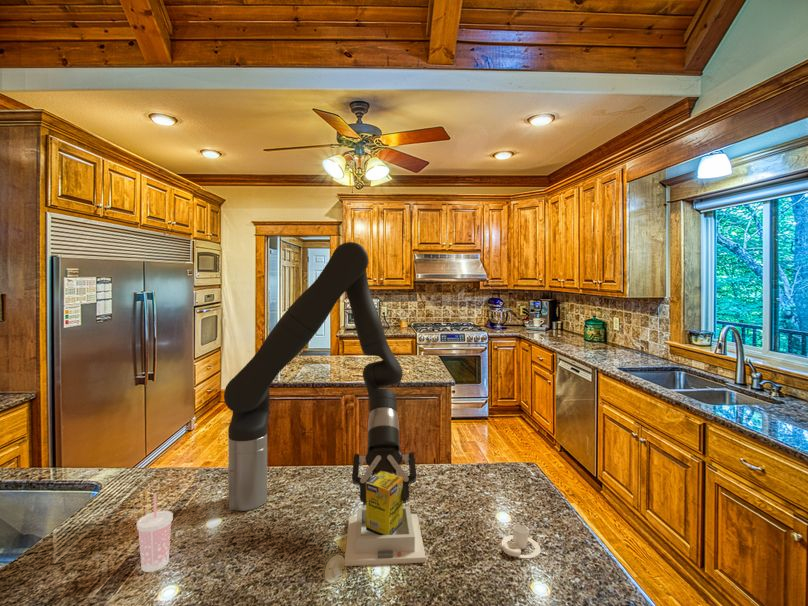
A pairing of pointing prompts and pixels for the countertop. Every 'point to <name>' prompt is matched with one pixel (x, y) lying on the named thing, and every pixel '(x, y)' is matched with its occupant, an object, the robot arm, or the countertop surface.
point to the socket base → (384, 542)
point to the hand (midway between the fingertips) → (384, 503)
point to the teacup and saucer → (519, 542)
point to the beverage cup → (154, 539)
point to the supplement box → (384, 503)
